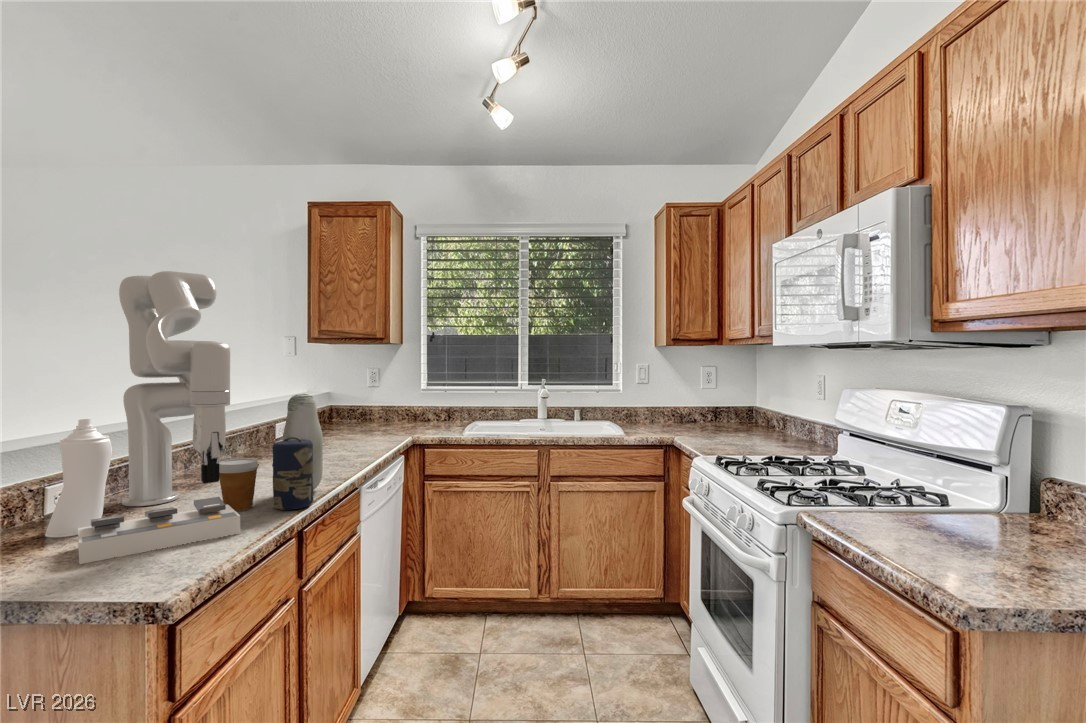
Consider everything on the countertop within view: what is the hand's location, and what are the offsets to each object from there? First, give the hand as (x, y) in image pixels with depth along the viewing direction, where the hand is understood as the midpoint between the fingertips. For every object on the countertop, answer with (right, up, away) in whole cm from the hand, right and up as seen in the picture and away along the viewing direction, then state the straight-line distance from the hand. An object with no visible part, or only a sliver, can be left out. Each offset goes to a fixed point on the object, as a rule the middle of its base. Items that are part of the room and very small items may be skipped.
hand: (210, 481), depth 123 cm
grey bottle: (+5, -11, +36) cm, 38 cm away
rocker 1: (-15, -6, -10) cm, 19 cm away
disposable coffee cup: (-4, -11, +19) cm, 23 cm away
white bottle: (-30, -12, +2) cm, 32 cm away
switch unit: (-7, -11, -5) cm, 14 cm away
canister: (+9, -11, +20) cm, 25 cm away
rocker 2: (-1, -6, +2) cm, 6 cm away
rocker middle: (-8, -6, -4) cm, 11 cm away
